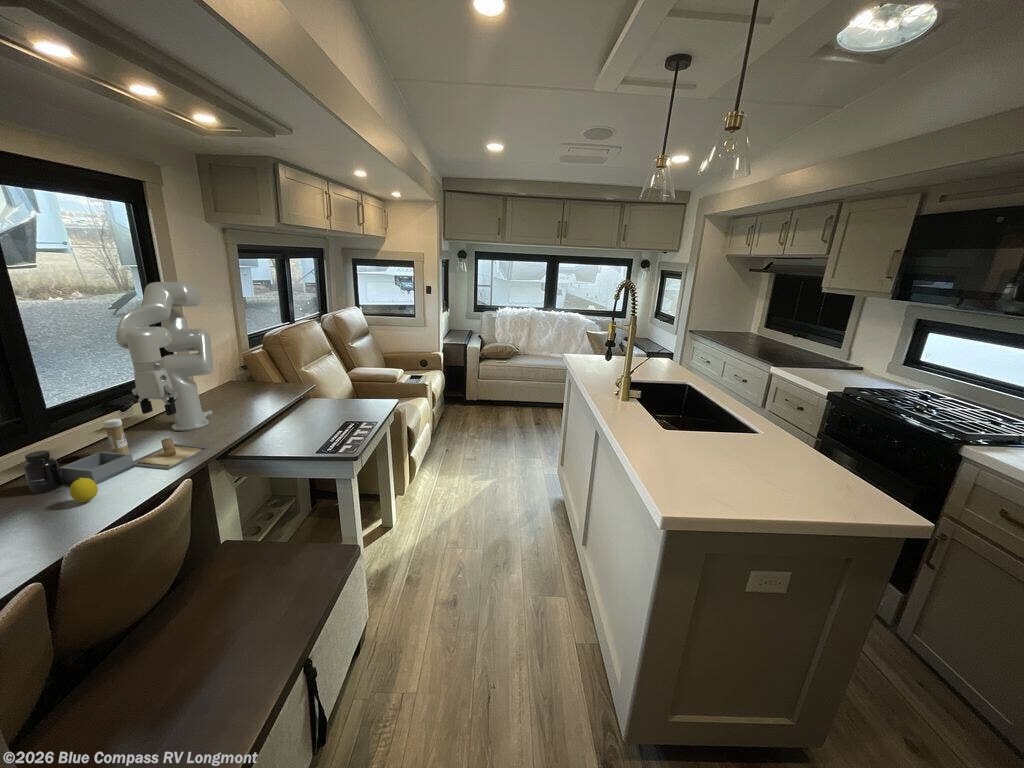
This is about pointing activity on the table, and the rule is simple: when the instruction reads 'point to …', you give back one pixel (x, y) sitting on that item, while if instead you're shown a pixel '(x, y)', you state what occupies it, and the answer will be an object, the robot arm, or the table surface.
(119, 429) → the sprinkles bottle
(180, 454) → the lid
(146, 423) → the table surface
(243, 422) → the table surface
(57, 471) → the supplement bottle
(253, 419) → the table surface
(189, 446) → the picture frame
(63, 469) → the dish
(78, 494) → the lemon
